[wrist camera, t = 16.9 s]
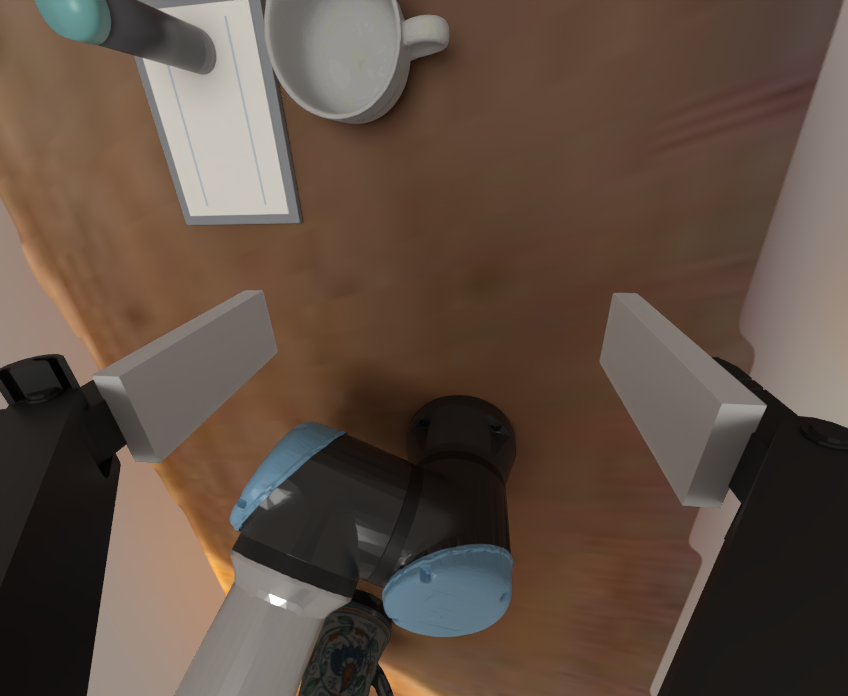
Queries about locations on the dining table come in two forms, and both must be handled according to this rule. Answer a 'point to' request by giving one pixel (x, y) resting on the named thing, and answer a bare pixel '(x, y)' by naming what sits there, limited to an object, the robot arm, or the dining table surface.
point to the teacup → (347, 53)
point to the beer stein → (350, 651)
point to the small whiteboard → (224, 120)
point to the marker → (132, 31)
